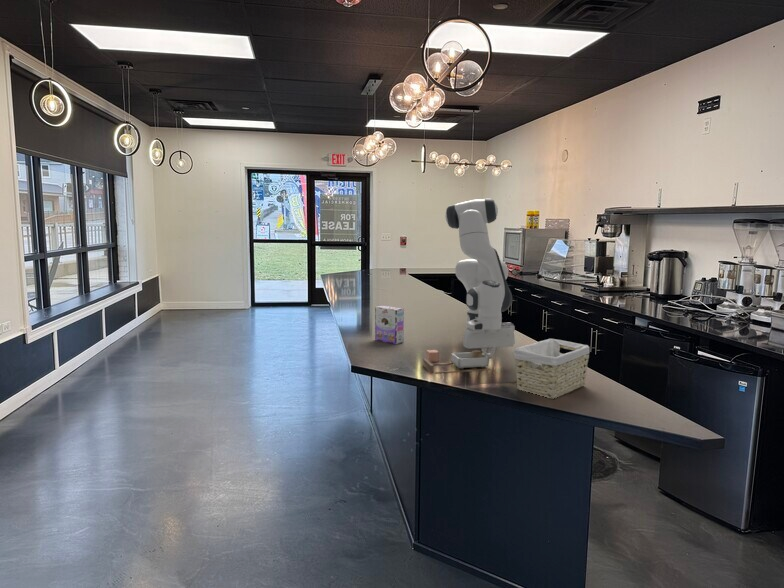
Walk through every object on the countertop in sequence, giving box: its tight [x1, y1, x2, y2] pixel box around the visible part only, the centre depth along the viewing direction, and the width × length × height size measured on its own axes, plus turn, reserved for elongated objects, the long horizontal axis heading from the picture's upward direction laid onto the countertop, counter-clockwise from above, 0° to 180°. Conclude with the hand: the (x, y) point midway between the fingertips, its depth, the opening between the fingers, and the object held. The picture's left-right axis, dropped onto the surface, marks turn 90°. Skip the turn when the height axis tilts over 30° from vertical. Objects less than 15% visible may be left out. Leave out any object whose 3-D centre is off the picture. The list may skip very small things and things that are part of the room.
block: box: [425, 349, 440, 363], centre depth 208 cm, size 4×4×5 cm
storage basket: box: [514, 338, 591, 400], centre depth 177 cm, size 24×16×15 cm
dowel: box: [471, 349, 483, 358], centre depth 199 cm, size 4×4×4 cm
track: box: [422, 358, 492, 374], centre depth 197 cm, size 24×13×4 cm, turn 103°
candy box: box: [374, 305, 405, 345], centre depth 243 cm, size 14×6×16 cm, turn 47°
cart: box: [450, 351, 490, 370], centre depth 198 cm, size 12×9×5 cm
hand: (488, 358), depth 200 cm, fingers closed
